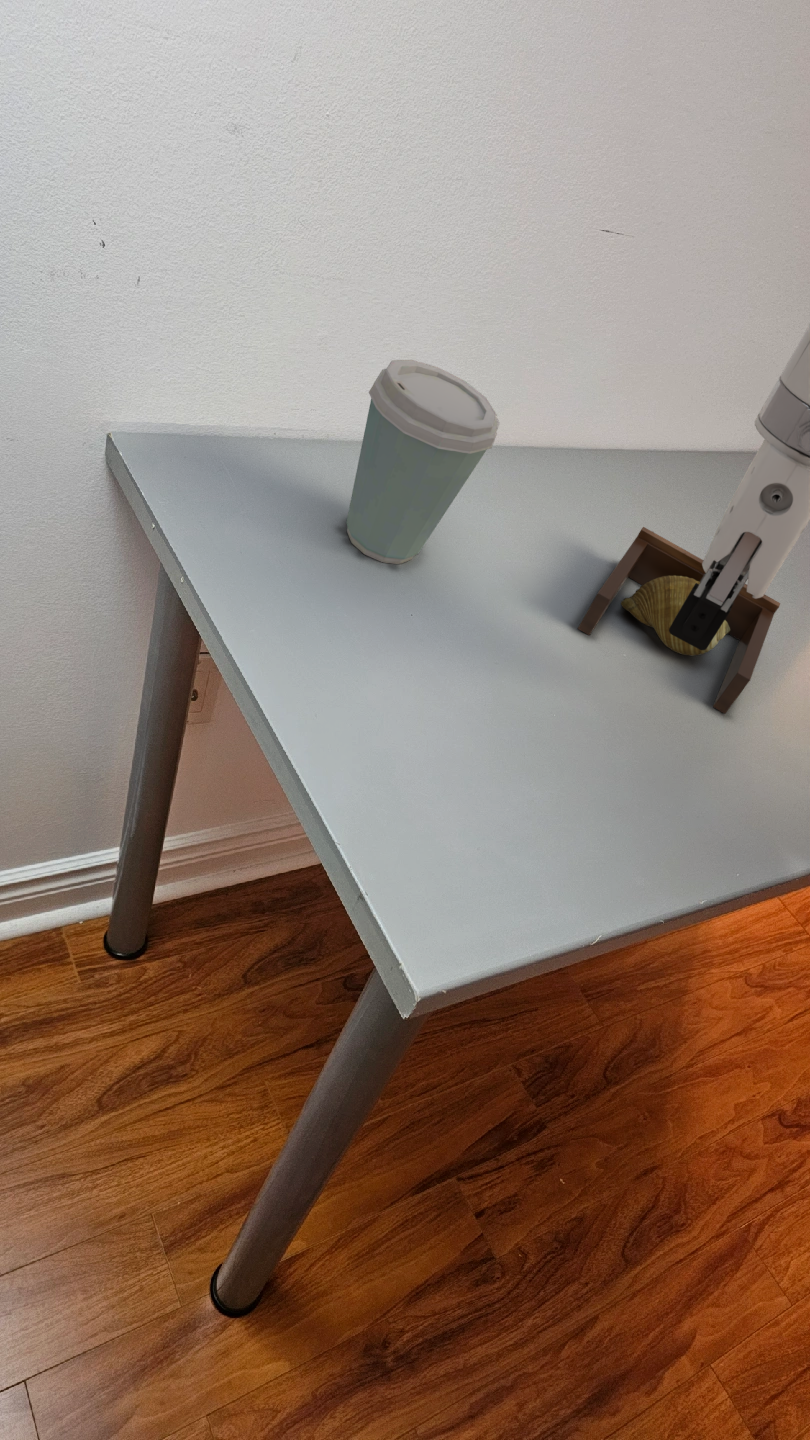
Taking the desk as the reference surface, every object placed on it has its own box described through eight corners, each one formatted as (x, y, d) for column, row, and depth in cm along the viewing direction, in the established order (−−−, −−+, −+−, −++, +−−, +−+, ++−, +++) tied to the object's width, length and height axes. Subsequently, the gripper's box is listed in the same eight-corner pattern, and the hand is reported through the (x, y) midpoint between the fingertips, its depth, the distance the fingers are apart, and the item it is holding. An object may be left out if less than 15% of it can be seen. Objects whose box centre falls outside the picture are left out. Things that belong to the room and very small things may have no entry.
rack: (753, 641, 100) (781, 602, 97) (725, 714, 89) (755, 672, 86) (620, 566, 102) (643, 525, 99) (577, 628, 91) (602, 585, 88)
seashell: (606, 648, 98) (614, 618, 91) (629, 580, 100) (639, 545, 92) (708, 680, 97) (725, 653, 89) (730, 612, 98) (750, 578, 91)
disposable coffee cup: (401, 504, 96) (460, 353, 87) (464, 578, 91) (535, 426, 82) (301, 509, 90) (353, 347, 81) (363, 589, 85) (427, 425, 75)
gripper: (859, 488, 64) (712, 708, 76) (877, 420, 76) (748, 620, 87) (746, 432, 65) (619, 657, 77) (781, 374, 77) (666, 577, 88)
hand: (688, 637), depth 82 cm, fingers closed
